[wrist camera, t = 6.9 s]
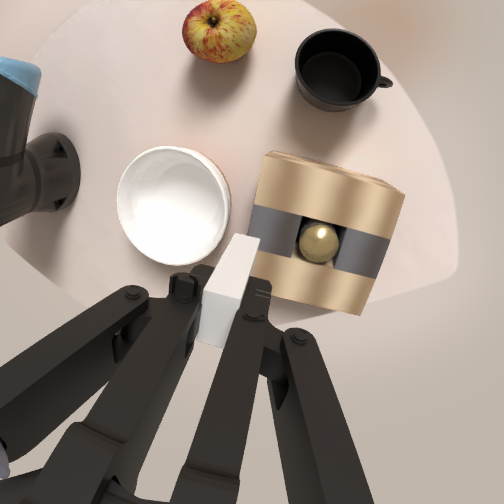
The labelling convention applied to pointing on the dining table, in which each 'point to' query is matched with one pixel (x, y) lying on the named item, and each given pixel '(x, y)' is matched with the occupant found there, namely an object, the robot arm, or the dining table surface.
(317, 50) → the mug
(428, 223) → the dining table surface
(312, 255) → the peg
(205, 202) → the bowl
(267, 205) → the socket block
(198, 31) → the apple
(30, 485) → the robot arm
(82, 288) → the dining table surface
